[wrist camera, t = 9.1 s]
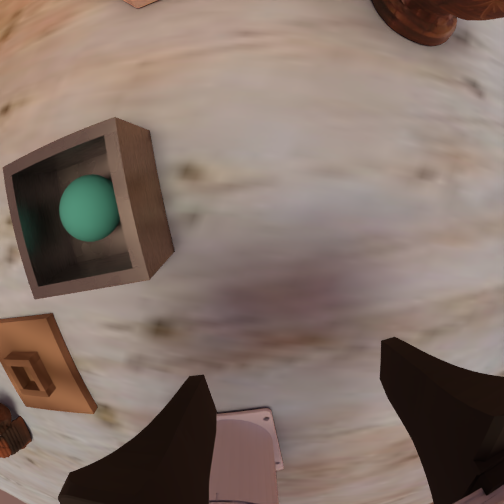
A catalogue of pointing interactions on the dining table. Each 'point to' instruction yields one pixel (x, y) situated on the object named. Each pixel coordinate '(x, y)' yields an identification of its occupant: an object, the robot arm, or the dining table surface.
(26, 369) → the stand
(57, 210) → the open box
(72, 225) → the ball
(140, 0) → the jar
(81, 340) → the dining table surface
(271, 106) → the dining table surface
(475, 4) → the mortar and pestle
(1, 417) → the pottery mug
